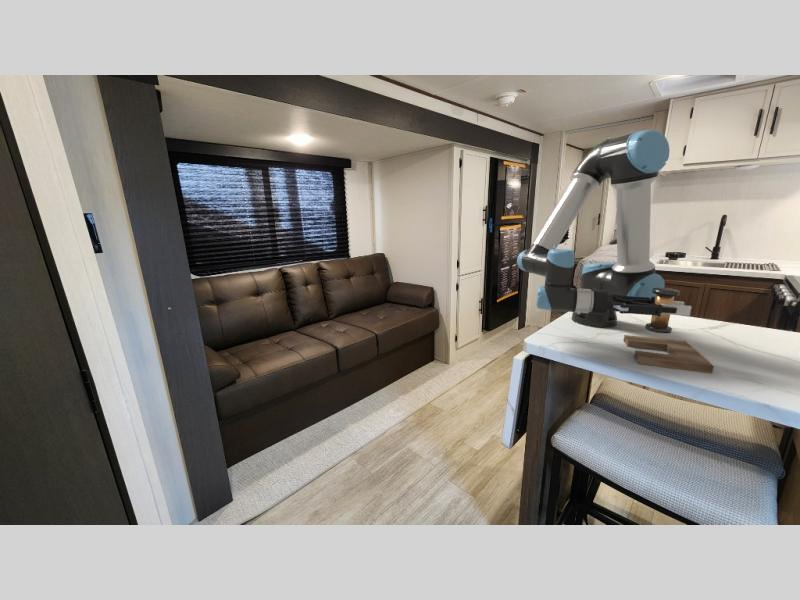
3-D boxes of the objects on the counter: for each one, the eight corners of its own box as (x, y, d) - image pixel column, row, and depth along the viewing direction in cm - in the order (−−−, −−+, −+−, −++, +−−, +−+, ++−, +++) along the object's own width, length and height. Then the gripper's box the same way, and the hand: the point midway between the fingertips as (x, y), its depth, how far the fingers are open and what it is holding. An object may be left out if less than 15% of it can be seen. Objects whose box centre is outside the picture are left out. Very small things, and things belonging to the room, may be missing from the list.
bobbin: (642, 325, 97) (649, 287, 94) (666, 327, 95) (675, 288, 92) (648, 331, 92) (656, 291, 89) (674, 334, 90) (683, 293, 87)
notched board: (623, 340, 106) (624, 334, 105) (683, 346, 100) (685, 340, 99) (639, 364, 90) (640, 357, 89) (712, 373, 84) (713, 366, 83)
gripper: (585, 305, 107) (672, 312, 98) (593, 321, 92) (697, 331, 83) (588, 284, 105) (677, 289, 96) (597, 296, 90) (703, 303, 81)
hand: (686, 308), depth 90 cm, fingers closed on bobbin, 4 cm apart
